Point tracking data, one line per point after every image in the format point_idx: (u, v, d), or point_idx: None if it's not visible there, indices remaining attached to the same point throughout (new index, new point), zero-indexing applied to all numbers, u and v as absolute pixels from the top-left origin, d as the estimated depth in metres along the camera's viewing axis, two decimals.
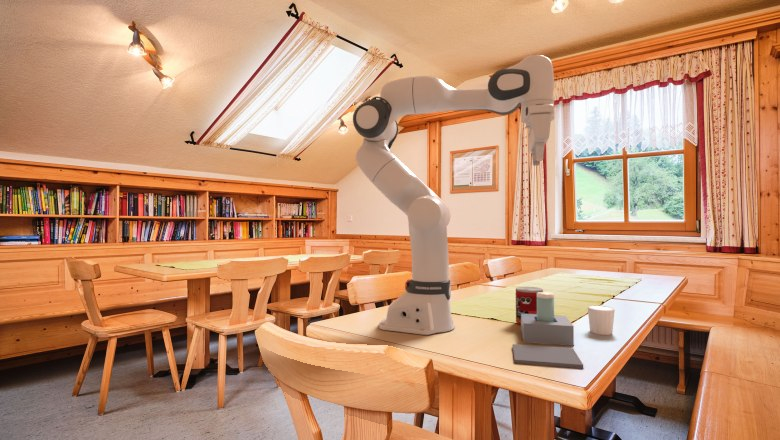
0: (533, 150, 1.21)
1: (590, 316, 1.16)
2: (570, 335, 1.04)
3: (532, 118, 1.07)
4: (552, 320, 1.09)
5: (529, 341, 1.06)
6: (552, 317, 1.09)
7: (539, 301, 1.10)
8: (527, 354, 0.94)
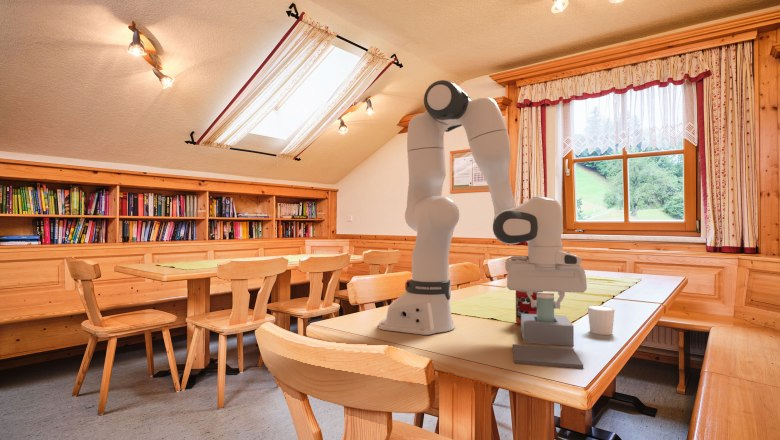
0: (525, 290, 1.12)
1: (590, 316, 1.16)
2: (570, 335, 1.04)
3: (583, 270, 1.07)
4: (552, 320, 1.09)
5: (529, 341, 1.06)
6: (552, 317, 1.09)
7: (539, 301, 1.10)
8: (527, 354, 0.94)
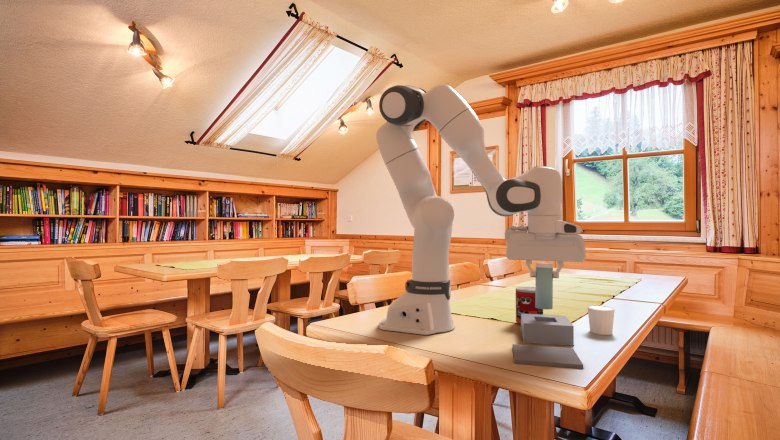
0: None
1: (590, 316, 1.16)
2: (570, 335, 1.04)
3: (583, 239, 1.07)
4: (551, 289, 1.09)
5: (529, 341, 1.06)
6: (551, 286, 1.09)
7: (538, 270, 1.10)
8: (527, 354, 0.94)
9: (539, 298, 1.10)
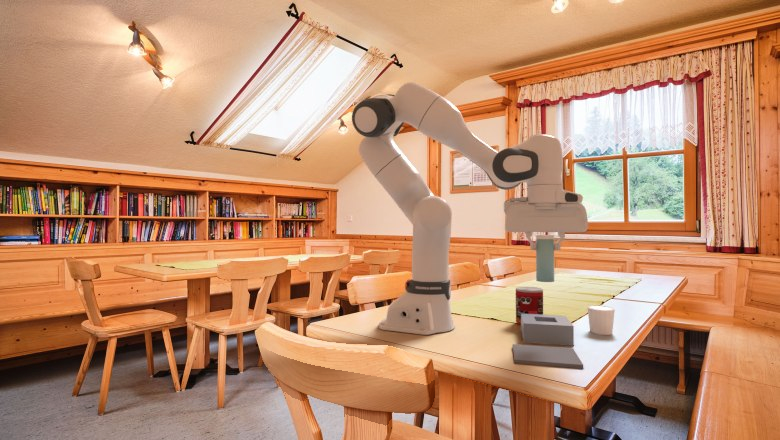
0: None
1: (590, 316, 1.16)
2: (570, 335, 1.04)
3: (585, 209, 1.03)
4: (552, 261, 1.05)
5: (529, 341, 1.06)
6: (552, 258, 1.05)
7: (539, 242, 1.06)
8: (527, 354, 0.94)
9: (540, 271, 1.06)
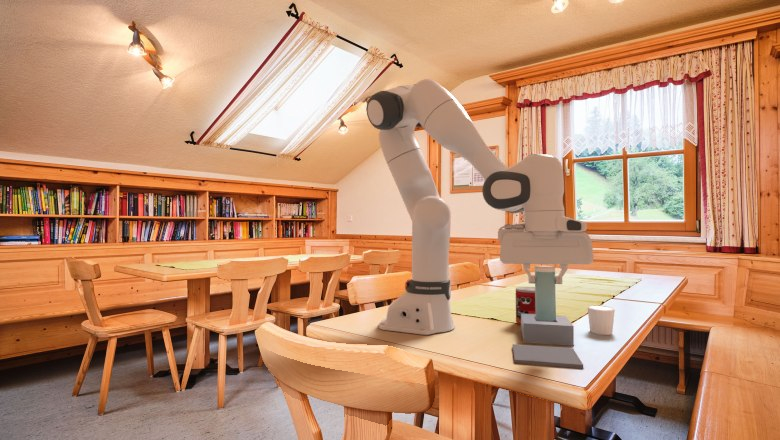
0: (521, 263, 0.96)
1: (590, 316, 1.16)
2: (570, 335, 1.04)
3: (589, 238, 0.91)
4: (553, 297, 0.93)
5: (529, 341, 1.06)
6: (553, 294, 0.93)
7: (538, 275, 0.94)
8: (527, 354, 0.94)
9: (539, 308, 0.94)
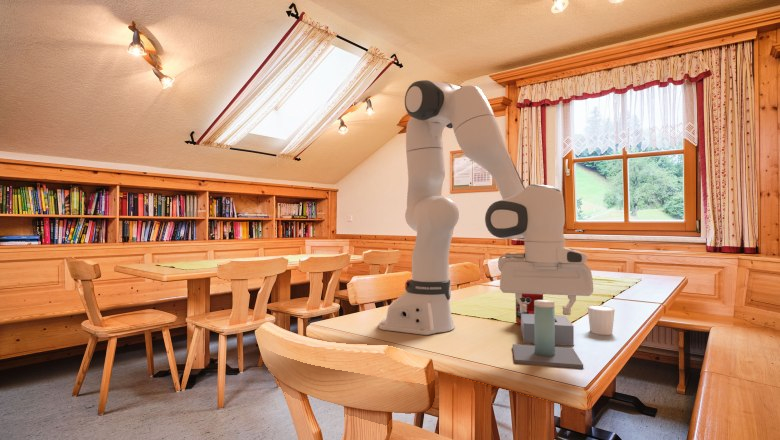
0: (521, 293, 0.96)
1: (590, 316, 1.16)
2: (570, 335, 1.04)
3: (589, 270, 0.91)
4: (552, 333, 0.93)
5: (529, 341, 1.06)
6: (552, 329, 0.93)
7: (537, 310, 0.94)
8: (527, 354, 0.94)
9: (538, 343, 0.94)
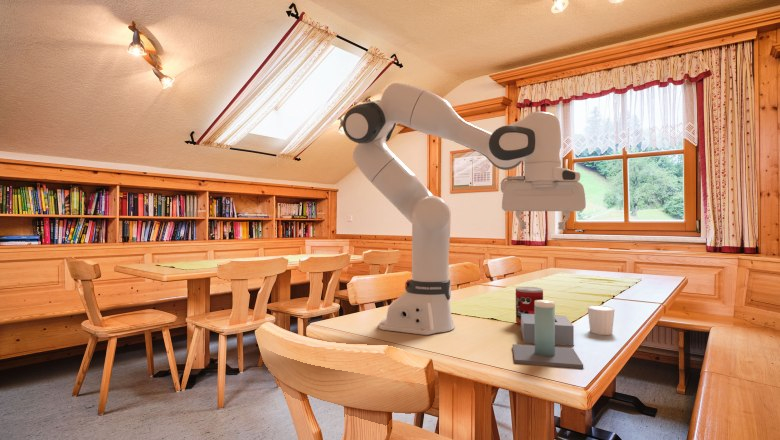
0: None
1: (590, 316, 1.16)
2: (570, 335, 1.04)
3: (582, 187, 1.01)
4: (552, 333, 0.93)
5: (529, 341, 1.06)
6: (552, 329, 0.93)
7: (537, 310, 0.94)
8: (527, 354, 0.94)
9: (538, 343, 0.94)
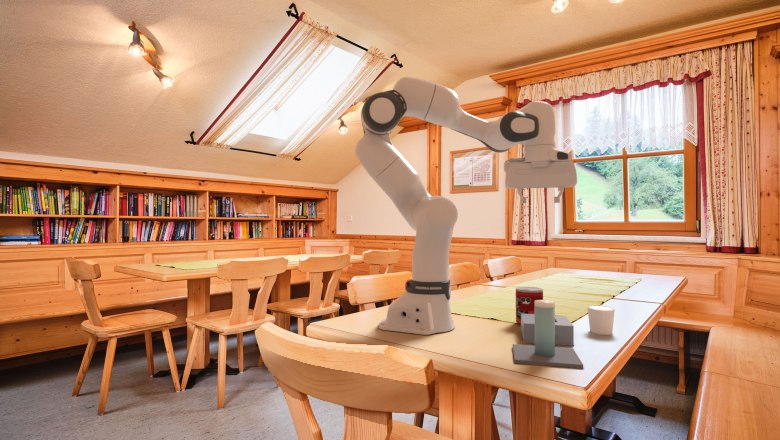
0: None
1: (590, 316, 1.16)
2: (570, 335, 1.04)
3: (574, 165, 1.19)
4: (552, 333, 0.93)
5: (529, 341, 1.06)
6: (552, 329, 0.93)
7: (537, 310, 0.94)
8: (527, 354, 0.94)
9: (538, 343, 0.94)
